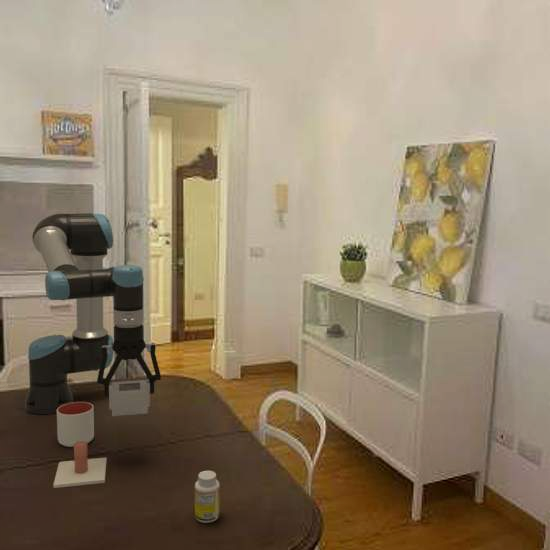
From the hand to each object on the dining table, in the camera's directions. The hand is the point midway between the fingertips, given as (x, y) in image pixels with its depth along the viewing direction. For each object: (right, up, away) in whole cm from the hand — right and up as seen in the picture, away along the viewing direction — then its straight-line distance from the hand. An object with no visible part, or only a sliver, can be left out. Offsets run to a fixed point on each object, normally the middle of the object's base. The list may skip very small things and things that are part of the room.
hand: (129, 406), depth 147 cm
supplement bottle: (+24, -20, -23) cm, 38 cm away
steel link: (0, -1, 0) cm, 1 cm away
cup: (-19, -13, +13) cm, 27 cm away
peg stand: (-11, -16, -5) cm, 20 cm away
